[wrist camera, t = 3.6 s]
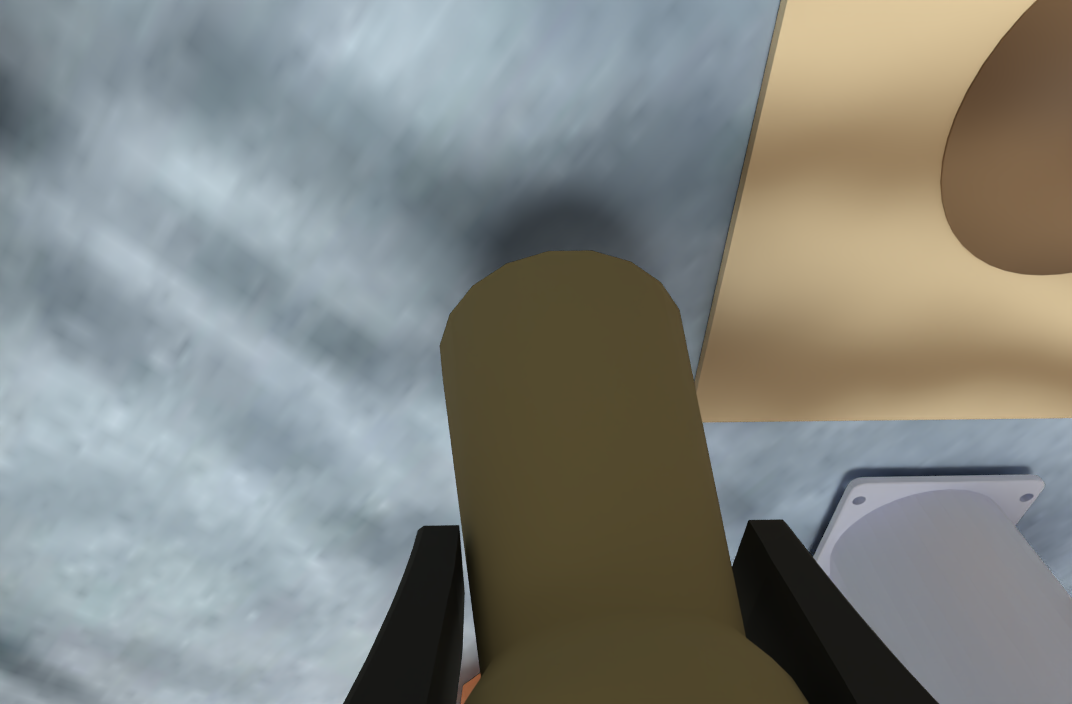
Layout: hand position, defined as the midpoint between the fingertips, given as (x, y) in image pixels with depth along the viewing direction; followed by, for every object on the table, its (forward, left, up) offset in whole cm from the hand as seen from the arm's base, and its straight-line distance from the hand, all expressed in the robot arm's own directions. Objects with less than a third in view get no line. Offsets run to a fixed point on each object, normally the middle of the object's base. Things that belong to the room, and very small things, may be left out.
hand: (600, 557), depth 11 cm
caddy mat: (+3, -13, -10) cm, 17 cm away
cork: (0, 0, -6) cm, 6 cm away
